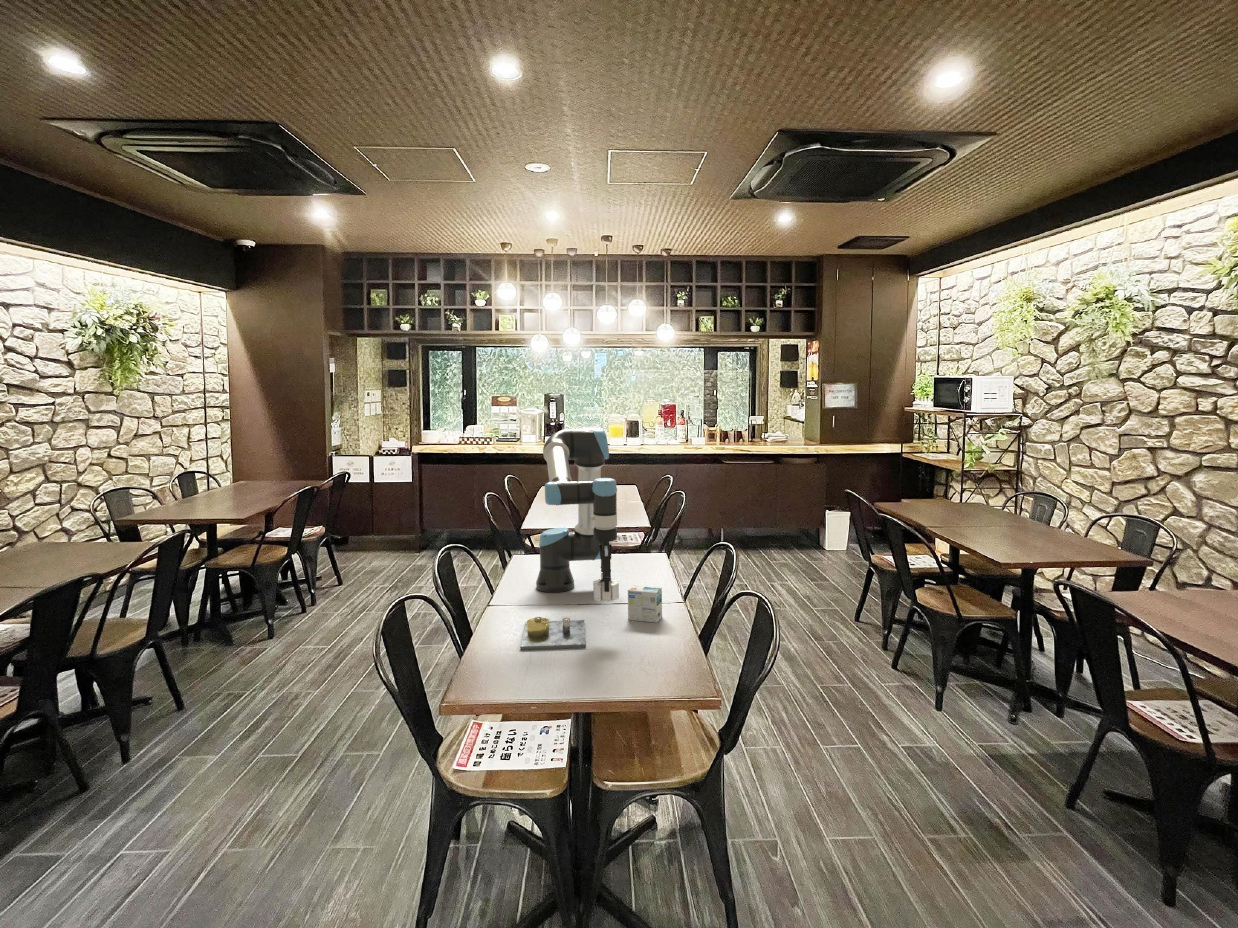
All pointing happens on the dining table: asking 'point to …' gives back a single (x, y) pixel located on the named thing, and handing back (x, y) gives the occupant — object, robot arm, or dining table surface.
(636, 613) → the light bulb box
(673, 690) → the dining table surface
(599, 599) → the planet gear
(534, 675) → the dining table surface
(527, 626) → the carrier
